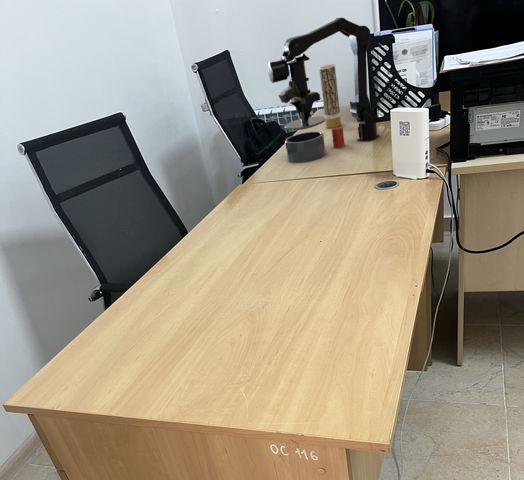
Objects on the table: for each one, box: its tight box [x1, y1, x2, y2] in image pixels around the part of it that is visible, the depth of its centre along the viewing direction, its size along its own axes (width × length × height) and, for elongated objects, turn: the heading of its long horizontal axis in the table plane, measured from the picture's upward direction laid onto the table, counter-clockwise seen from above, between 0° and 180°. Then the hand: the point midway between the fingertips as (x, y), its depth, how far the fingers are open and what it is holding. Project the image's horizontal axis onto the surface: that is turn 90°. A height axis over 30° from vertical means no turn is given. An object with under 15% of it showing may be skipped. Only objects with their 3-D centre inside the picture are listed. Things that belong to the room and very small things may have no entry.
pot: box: [284, 131, 326, 164], centre depth 210 cm, size 15×15×8 cm
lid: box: [284, 111, 326, 131], centre depth 207 cm, size 16×16×5 cm
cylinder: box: [331, 126, 346, 149], centre depth 214 cm, size 4×4×7 cm
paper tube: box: [318, 63, 342, 129], centre depth 240 cm, size 7×7×25 cm
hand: (304, 120), depth 208 cm, fingers closed on lid, 3 cm apart
